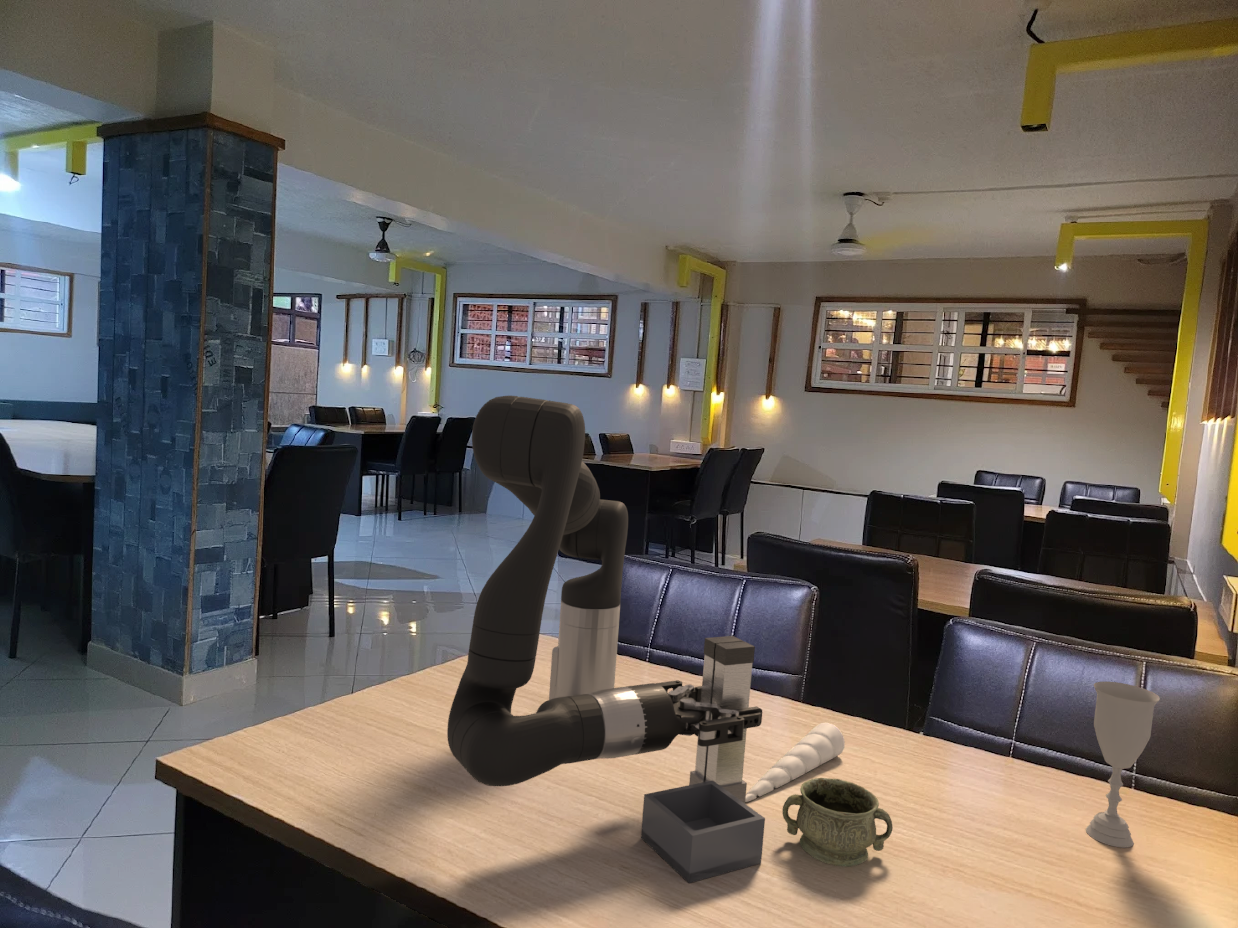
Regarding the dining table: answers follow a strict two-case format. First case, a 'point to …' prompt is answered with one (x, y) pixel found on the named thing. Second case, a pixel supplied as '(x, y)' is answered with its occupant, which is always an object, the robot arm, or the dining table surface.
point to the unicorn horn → (801, 759)
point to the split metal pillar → (730, 691)
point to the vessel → (837, 821)
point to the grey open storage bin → (702, 830)
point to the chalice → (1120, 749)
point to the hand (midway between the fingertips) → (738, 703)
